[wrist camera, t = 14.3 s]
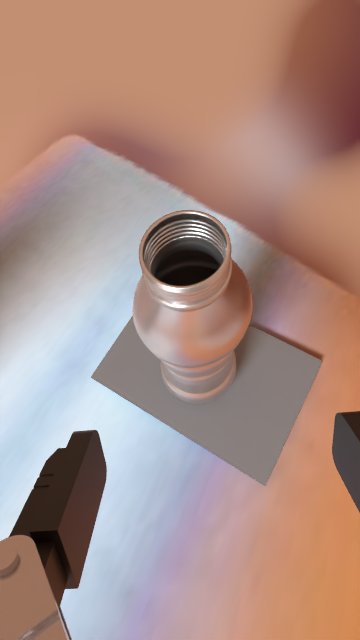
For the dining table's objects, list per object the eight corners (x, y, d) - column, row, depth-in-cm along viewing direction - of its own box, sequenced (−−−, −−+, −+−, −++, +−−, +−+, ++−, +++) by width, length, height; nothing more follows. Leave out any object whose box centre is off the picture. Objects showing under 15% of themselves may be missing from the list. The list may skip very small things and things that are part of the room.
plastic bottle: (151, 387, 31) (66, 283, 13) (187, 326, 33) (158, 162, 15) (212, 422, 30) (218, 362, 11) (246, 357, 32) (298, 214, 13)
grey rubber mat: (93, 379, 33) (90, 377, 32) (158, 282, 36) (157, 279, 36) (263, 485, 28) (265, 485, 27) (319, 363, 32) (322, 360, 31)
